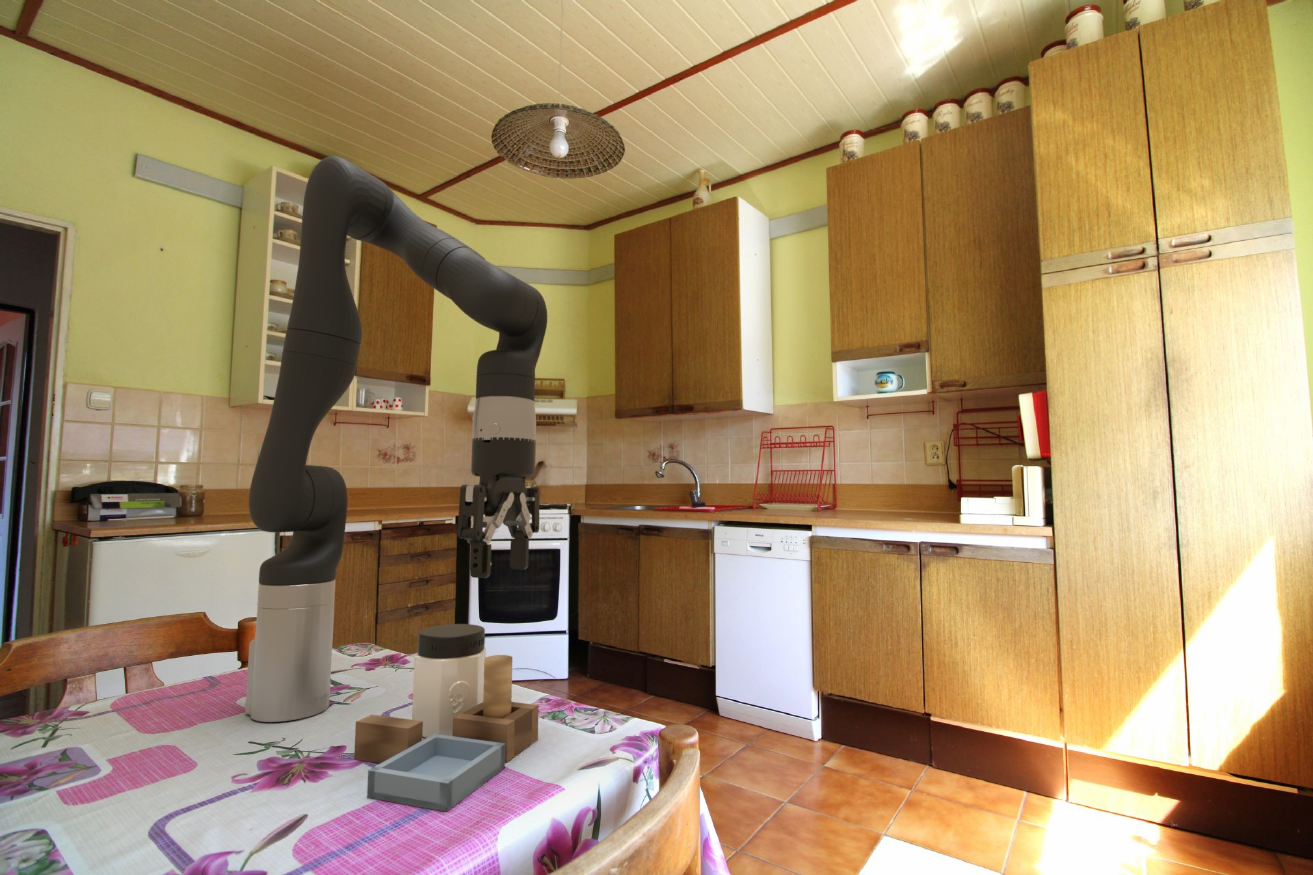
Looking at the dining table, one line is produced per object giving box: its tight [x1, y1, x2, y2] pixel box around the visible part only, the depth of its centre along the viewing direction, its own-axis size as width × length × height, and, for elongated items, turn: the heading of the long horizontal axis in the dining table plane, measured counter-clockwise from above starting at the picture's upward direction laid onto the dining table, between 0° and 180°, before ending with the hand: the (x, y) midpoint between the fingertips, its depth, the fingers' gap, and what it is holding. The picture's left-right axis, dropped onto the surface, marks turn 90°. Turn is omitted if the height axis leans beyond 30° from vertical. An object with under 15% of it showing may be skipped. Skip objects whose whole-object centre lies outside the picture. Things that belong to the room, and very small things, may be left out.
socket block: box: [453, 701, 540, 764], centre depth 73 cm, size 7×7×4 cm
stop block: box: [353, 714, 423, 764], centre depth 70 cm, size 7×2×4 cm, turn 72°
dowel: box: [483, 654, 513, 719], centre depth 74 cm, size 3×3×10 cm
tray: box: [366, 734, 506, 813], centre depth 64 cm, size 9×10×2 cm
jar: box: [411, 623, 487, 739], centre depth 80 cm, size 9×8×12 cm
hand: (500, 573), depth 75 cm, fingers open, 8 cm apart
